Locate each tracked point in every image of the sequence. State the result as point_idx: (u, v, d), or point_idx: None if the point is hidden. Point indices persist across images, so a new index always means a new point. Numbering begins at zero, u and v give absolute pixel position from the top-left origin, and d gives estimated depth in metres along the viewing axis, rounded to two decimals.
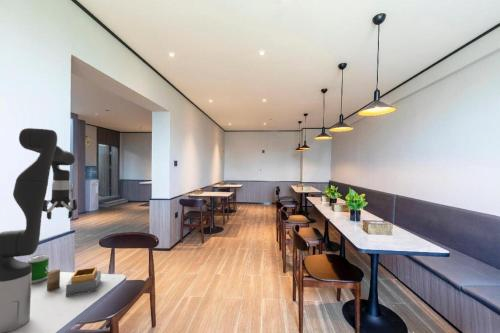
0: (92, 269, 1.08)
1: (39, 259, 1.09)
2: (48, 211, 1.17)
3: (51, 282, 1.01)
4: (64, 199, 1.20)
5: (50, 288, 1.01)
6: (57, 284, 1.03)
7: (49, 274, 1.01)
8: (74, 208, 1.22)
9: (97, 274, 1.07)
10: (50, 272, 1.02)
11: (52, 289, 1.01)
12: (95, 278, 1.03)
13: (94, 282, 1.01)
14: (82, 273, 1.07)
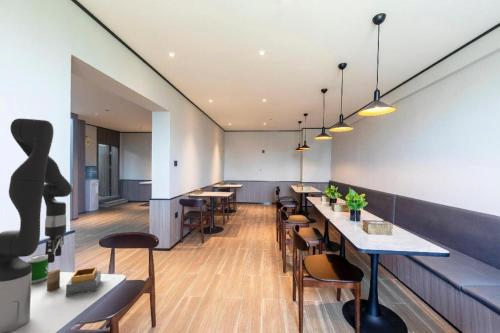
0: (92, 269, 1.08)
1: (39, 259, 1.09)
2: (55, 252, 1.00)
3: (51, 282, 1.01)
4: (59, 235, 1.06)
5: (50, 288, 1.01)
6: (57, 284, 1.03)
7: (49, 274, 1.01)
8: (63, 243, 1.10)
9: (97, 274, 1.07)
10: (50, 272, 1.02)
11: (52, 289, 1.01)
12: (95, 278, 1.03)
13: (94, 282, 1.01)
14: (82, 273, 1.07)
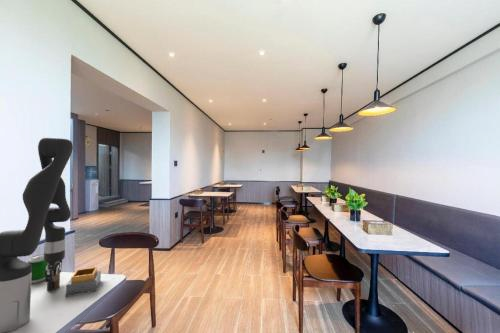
0: (92, 269, 1.08)
1: (39, 259, 1.09)
2: None
3: None
4: None
5: None
6: (57, 284, 1.03)
7: None
8: (60, 270, 1.08)
9: (97, 274, 1.07)
10: None
11: None
12: (95, 278, 1.03)
13: (94, 282, 1.01)
14: (82, 273, 1.07)
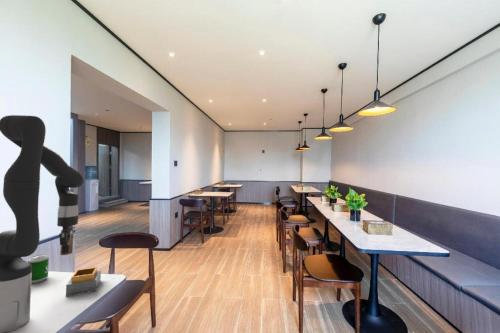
0: (92, 269, 1.08)
1: (39, 259, 1.09)
2: (68, 243, 1.02)
3: None
4: (71, 226, 1.06)
5: None
6: (70, 249, 1.04)
7: None
8: (73, 237, 1.09)
9: (97, 274, 1.07)
10: None
11: (66, 253, 1.02)
12: (95, 278, 1.03)
13: (94, 282, 1.01)
14: (82, 273, 1.07)
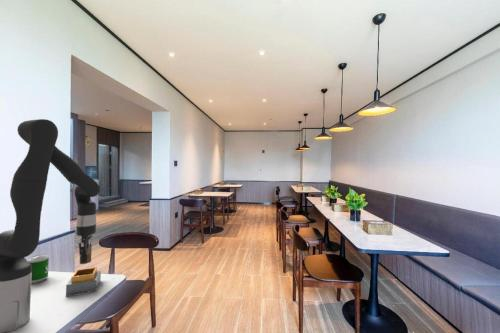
0: (92, 269, 1.08)
1: (39, 259, 1.09)
2: (87, 252, 1.03)
3: None
4: (89, 234, 1.07)
5: None
6: (89, 257, 1.04)
7: None
8: None
9: (97, 274, 1.07)
10: None
11: (85, 262, 1.03)
12: (95, 278, 1.03)
13: (94, 282, 1.01)
14: (82, 273, 1.07)
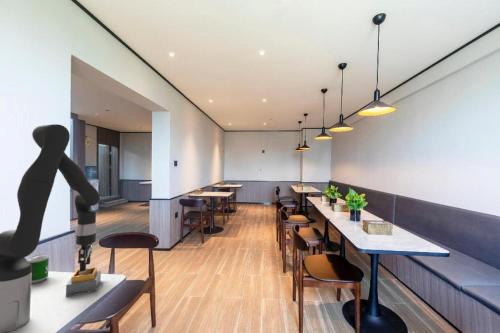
0: (92, 269, 1.08)
1: (39, 259, 1.09)
2: (86, 261, 1.01)
3: None
4: (89, 243, 1.07)
5: None
6: None
7: (81, 273, 1.02)
8: (91, 251, 1.11)
9: (97, 274, 1.07)
10: None
11: None
12: (95, 278, 1.03)
13: (94, 282, 1.01)
14: None
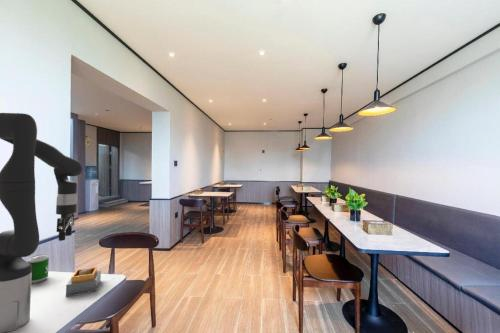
0: (92, 269, 1.08)
1: (39, 259, 1.09)
2: (65, 230, 1.01)
3: None
4: (70, 214, 1.07)
5: None
6: None
7: (81, 273, 1.02)
8: (73, 223, 1.11)
9: (97, 274, 1.07)
10: (82, 271, 1.03)
11: None
12: (95, 278, 1.03)
13: (94, 282, 1.01)
14: None
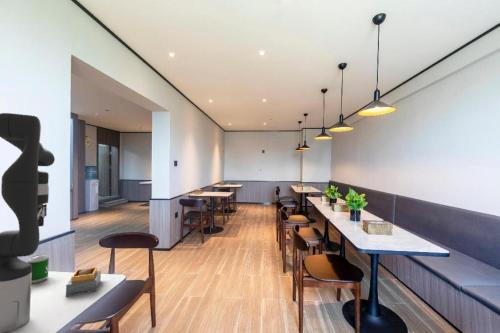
0: (92, 269, 1.08)
1: (39, 259, 1.09)
2: None
3: None
4: (42, 205, 1.06)
5: None
6: None
7: (81, 273, 1.02)
8: (46, 214, 1.10)
9: (97, 274, 1.07)
10: (81, 271, 1.03)
11: None
12: (95, 278, 1.03)
13: (94, 282, 1.01)
14: None
